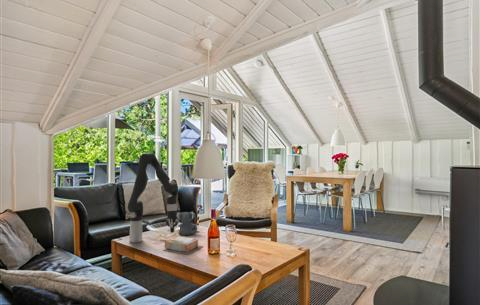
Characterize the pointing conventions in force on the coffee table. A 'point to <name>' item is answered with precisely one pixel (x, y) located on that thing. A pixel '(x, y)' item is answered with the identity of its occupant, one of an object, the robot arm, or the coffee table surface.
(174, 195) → the robot arm
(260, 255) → the coffee table surface
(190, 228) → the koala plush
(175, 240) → the cracker box
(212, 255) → the coffee table surface
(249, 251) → the coffee table surface
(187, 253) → the mat
